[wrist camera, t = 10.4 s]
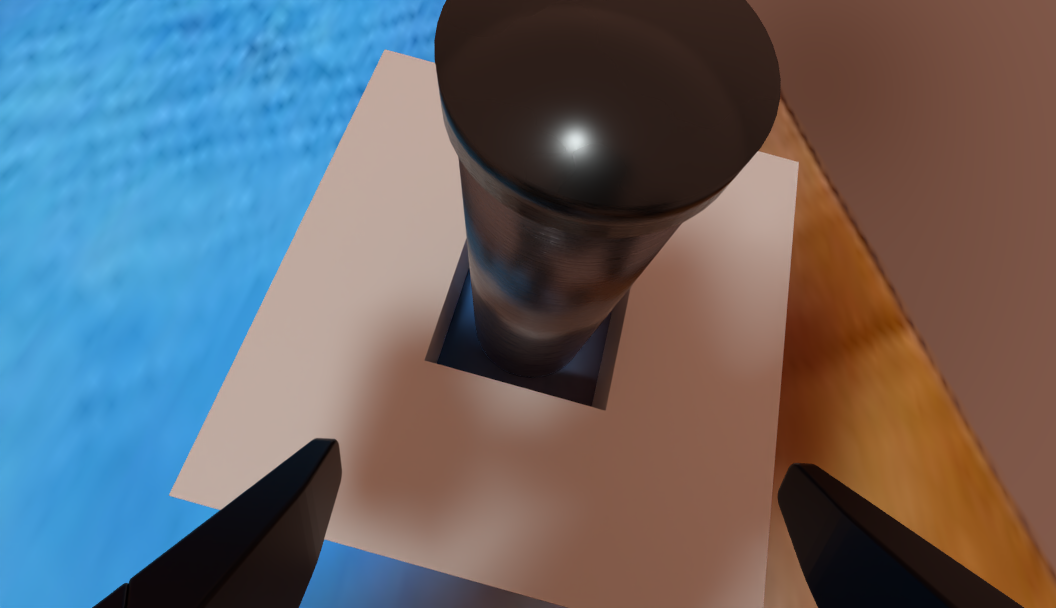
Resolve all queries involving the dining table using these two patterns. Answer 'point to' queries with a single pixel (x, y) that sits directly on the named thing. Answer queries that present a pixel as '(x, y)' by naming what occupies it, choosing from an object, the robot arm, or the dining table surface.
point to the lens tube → (590, 149)
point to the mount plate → (515, 387)
